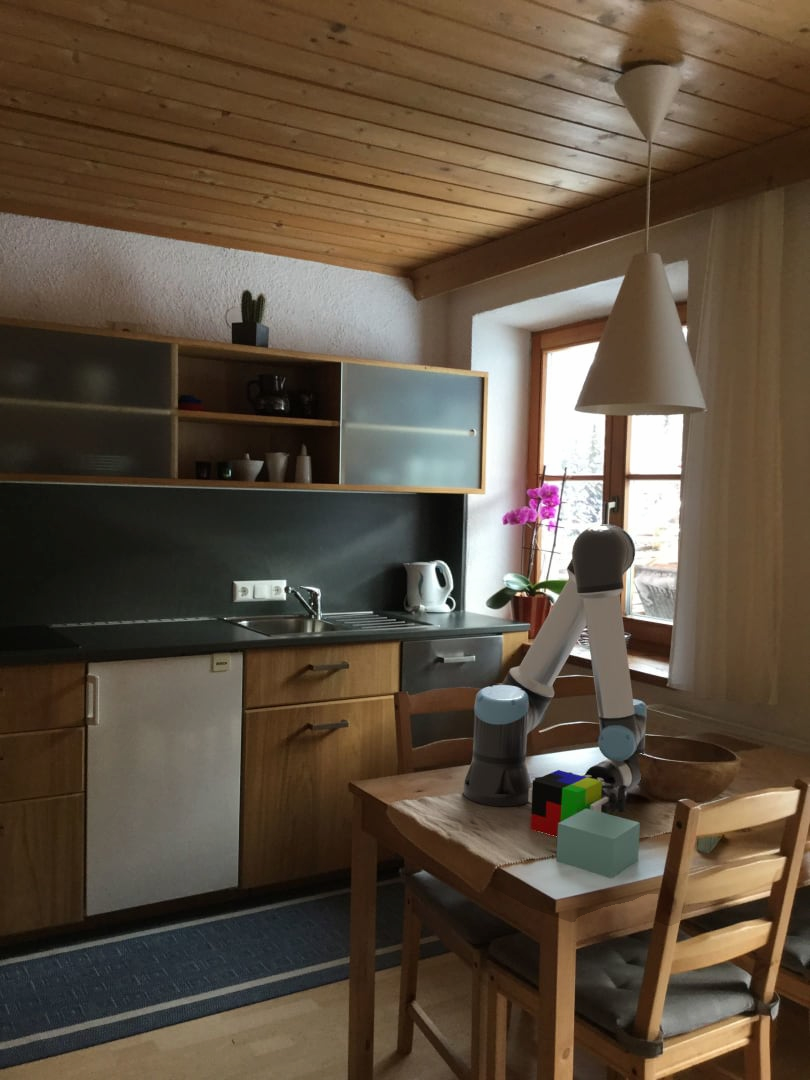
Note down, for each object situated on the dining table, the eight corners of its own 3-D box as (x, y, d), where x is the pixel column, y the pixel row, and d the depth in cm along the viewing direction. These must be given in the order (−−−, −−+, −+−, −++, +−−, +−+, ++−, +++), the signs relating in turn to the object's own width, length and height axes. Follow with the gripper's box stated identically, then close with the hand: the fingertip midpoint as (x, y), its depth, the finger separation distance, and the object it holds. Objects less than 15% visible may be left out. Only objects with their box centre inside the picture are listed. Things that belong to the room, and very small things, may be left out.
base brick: (556, 860, 171) (558, 823, 171) (584, 844, 180) (585, 808, 179) (611, 878, 164) (613, 839, 164) (638, 859, 173) (640, 822, 173)
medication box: (710, 855, 177) (711, 834, 177) (695, 851, 179) (697, 830, 178) (724, 836, 188) (725, 816, 187) (710, 832, 189) (712, 813, 189)
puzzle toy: (556, 817, 194) (558, 769, 194) (599, 829, 188) (602, 781, 187) (530, 829, 187) (532, 780, 186) (574, 843, 180) (577, 792, 180)
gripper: (661, 810, 194) (618, 838, 177) (554, 783, 209) (505, 807, 192) (663, 774, 194) (620, 799, 177) (556, 750, 209) (506, 771, 192)
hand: (560, 803), depth 184 cm, fingers open, 13 cm apart
